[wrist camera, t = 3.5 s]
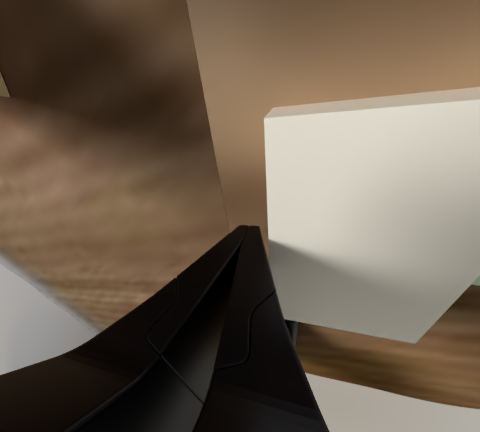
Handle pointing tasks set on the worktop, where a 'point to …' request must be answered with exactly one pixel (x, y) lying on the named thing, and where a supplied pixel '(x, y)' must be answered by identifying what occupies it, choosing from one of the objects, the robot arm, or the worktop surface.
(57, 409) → the robot arm
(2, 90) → the milk carton
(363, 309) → the cream white eraser block
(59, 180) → the worktop surface
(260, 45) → the brown wooden block
